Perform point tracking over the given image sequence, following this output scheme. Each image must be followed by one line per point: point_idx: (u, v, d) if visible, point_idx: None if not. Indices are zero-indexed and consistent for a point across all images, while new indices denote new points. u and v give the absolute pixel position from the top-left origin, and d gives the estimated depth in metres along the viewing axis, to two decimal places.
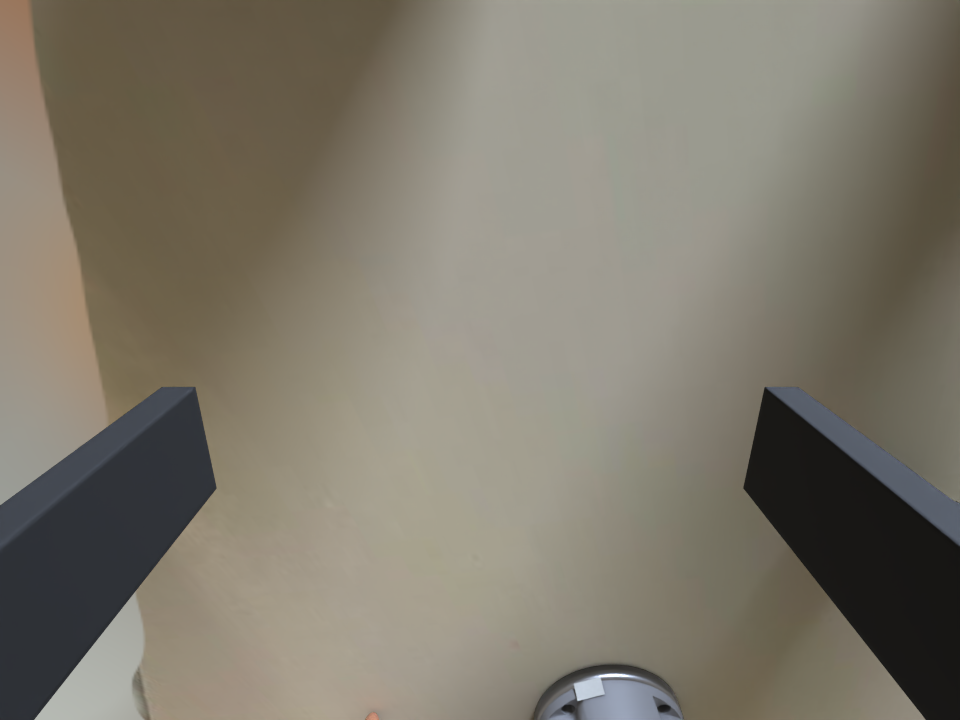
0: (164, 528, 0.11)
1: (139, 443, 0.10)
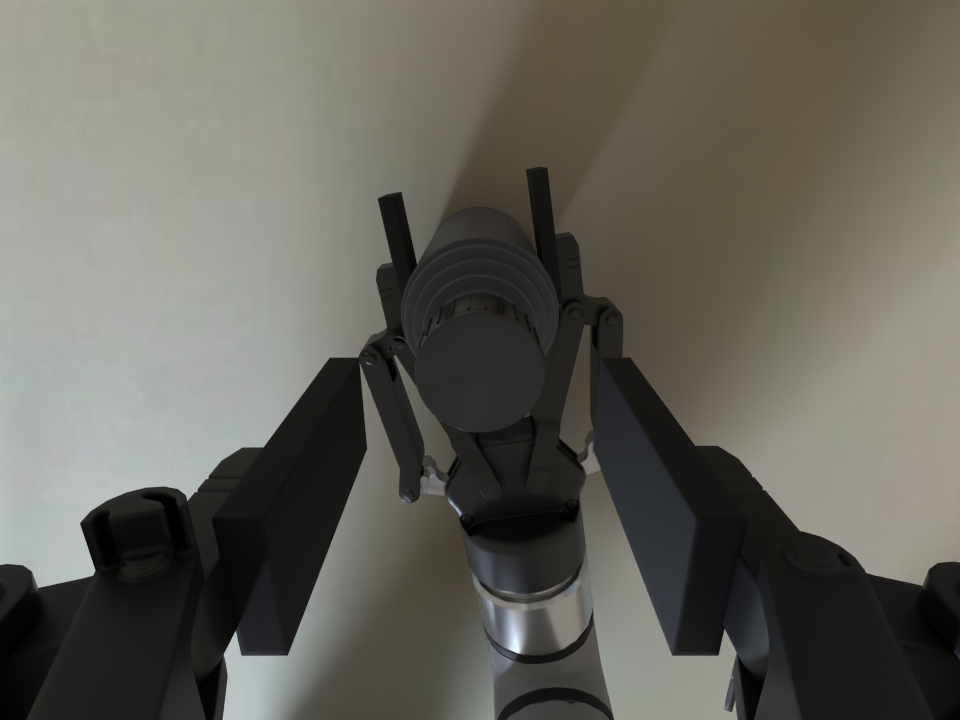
0: (347, 476, 0.13)
1: (338, 401, 0.12)
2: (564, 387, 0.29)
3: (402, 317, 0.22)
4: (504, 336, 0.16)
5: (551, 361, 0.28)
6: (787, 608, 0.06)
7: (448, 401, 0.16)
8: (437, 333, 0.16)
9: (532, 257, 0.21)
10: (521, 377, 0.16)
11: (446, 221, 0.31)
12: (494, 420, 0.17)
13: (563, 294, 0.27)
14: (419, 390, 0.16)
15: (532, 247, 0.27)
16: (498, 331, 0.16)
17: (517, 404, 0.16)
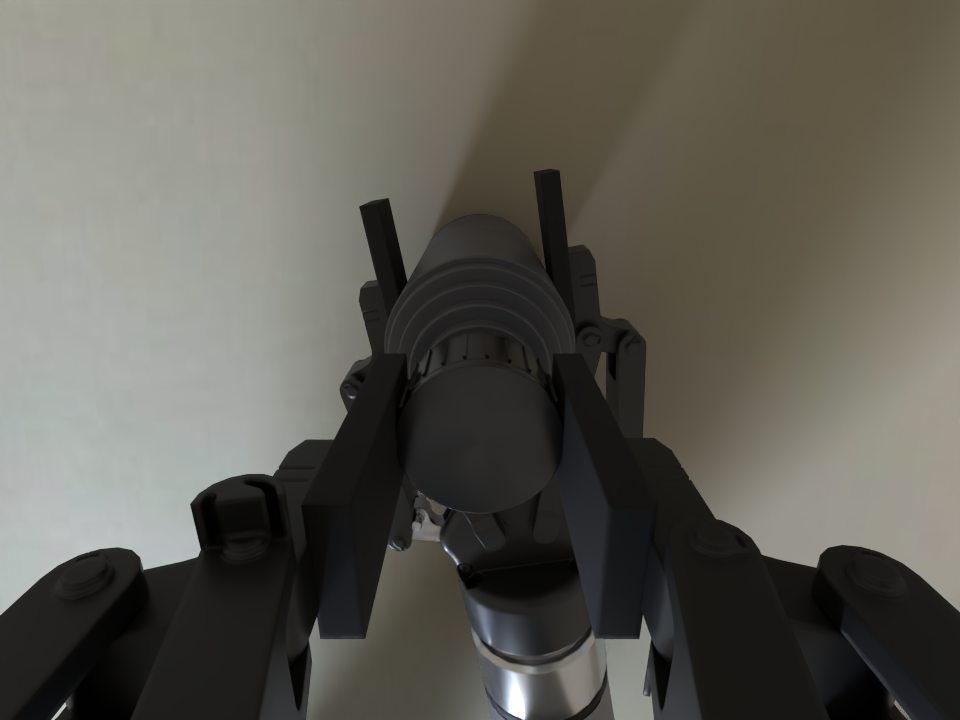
0: (400, 469, 0.13)
1: (394, 395, 0.12)
2: None
3: (386, 351, 0.18)
4: (511, 394, 0.12)
5: None
6: (688, 593, 0.07)
7: (438, 475, 0.13)
8: (423, 391, 0.12)
9: (543, 280, 0.17)
10: (533, 446, 0.12)
11: (441, 230, 0.27)
12: (498, 499, 0.13)
13: (577, 317, 0.23)
14: (400, 462, 0.13)
15: None
16: (504, 388, 0.12)
17: (528, 479, 0.13)
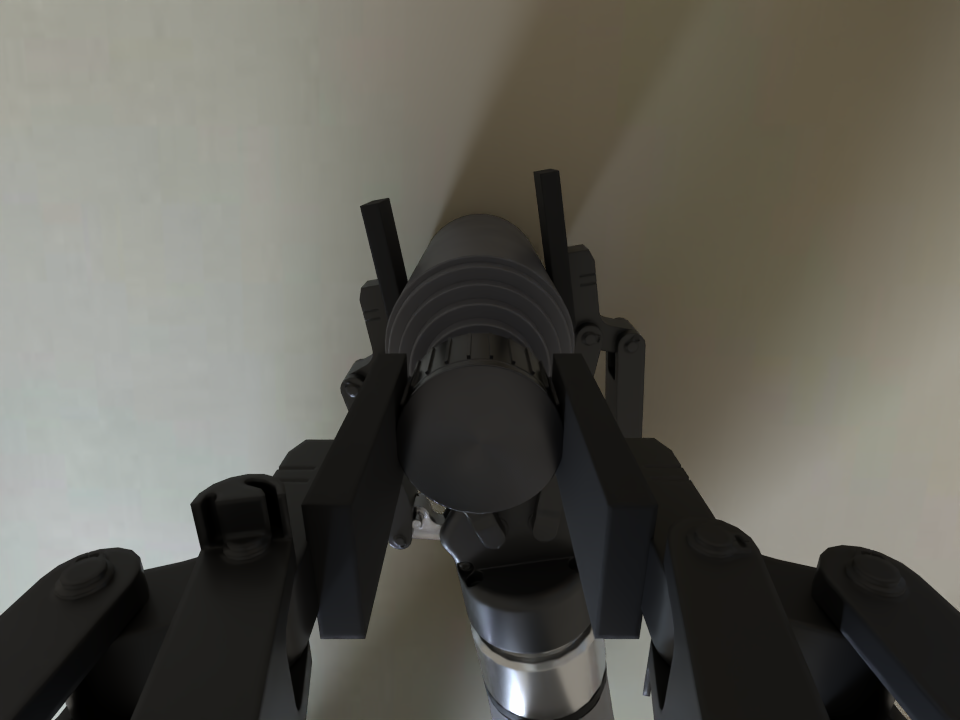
0: (400, 469, 0.13)
1: (394, 395, 0.12)
2: None
3: (386, 350, 0.18)
4: (417, 440, 0.12)
5: None
6: (688, 593, 0.07)
7: (532, 460, 0.12)
8: (454, 505, 0.13)
9: (543, 279, 0.17)
10: (456, 398, 0.12)
11: (442, 230, 0.28)
12: (531, 400, 0.12)
13: (576, 316, 0.24)
14: (533, 494, 0.13)
15: (540, 262, 0.23)
16: (415, 449, 0.12)
17: (494, 385, 0.12)
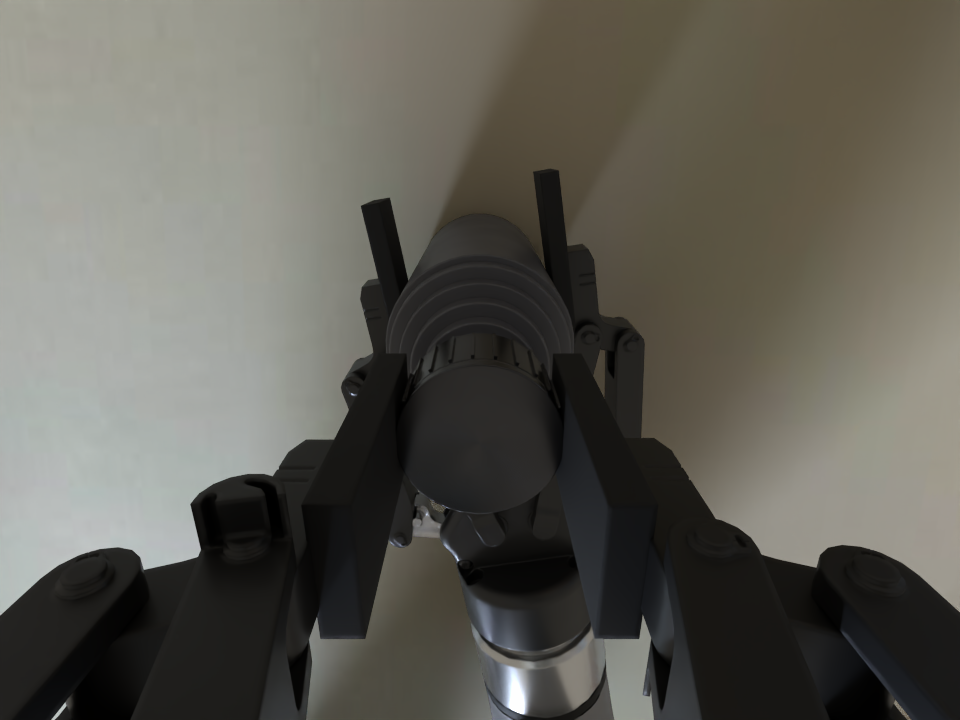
0: (400, 469, 0.13)
1: (394, 395, 0.12)
2: None
3: (387, 349, 0.18)
4: (504, 491, 0.13)
5: None
6: (688, 593, 0.07)
7: (473, 392, 0.12)
8: (558, 434, 0.12)
9: (543, 278, 0.17)
10: (446, 479, 0.13)
11: (442, 230, 0.28)
12: (413, 424, 0.12)
13: (576, 315, 0.24)
14: (509, 371, 0.12)
15: (540, 261, 0.23)
16: (514, 489, 0.13)
17: (417, 458, 0.12)
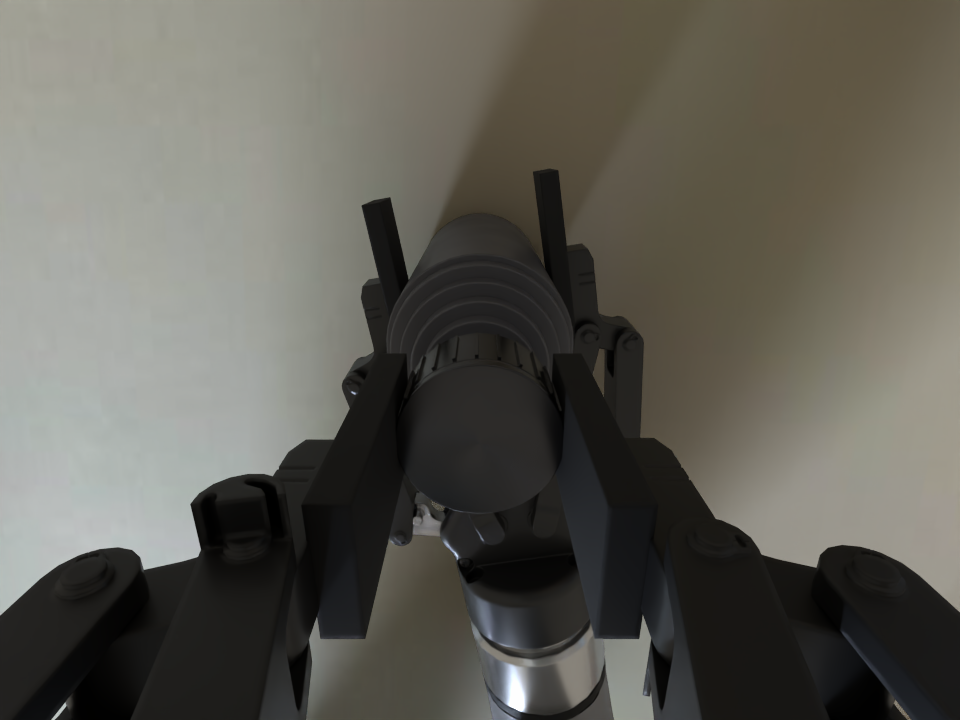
0: (400, 469, 0.13)
1: (394, 395, 0.12)
2: None
3: (388, 347, 0.18)
4: (519, 399, 0.12)
5: None
6: (688, 593, 0.07)
7: (434, 470, 0.13)
8: (432, 384, 0.12)
9: (542, 277, 0.18)
10: (533, 452, 0.12)
11: (442, 229, 0.28)
12: (489, 500, 0.13)
13: (575, 314, 0.24)
14: (398, 452, 0.12)
15: (540, 261, 0.23)
16: (512, 392, 0.12)
17: (522, 485, 0.13)
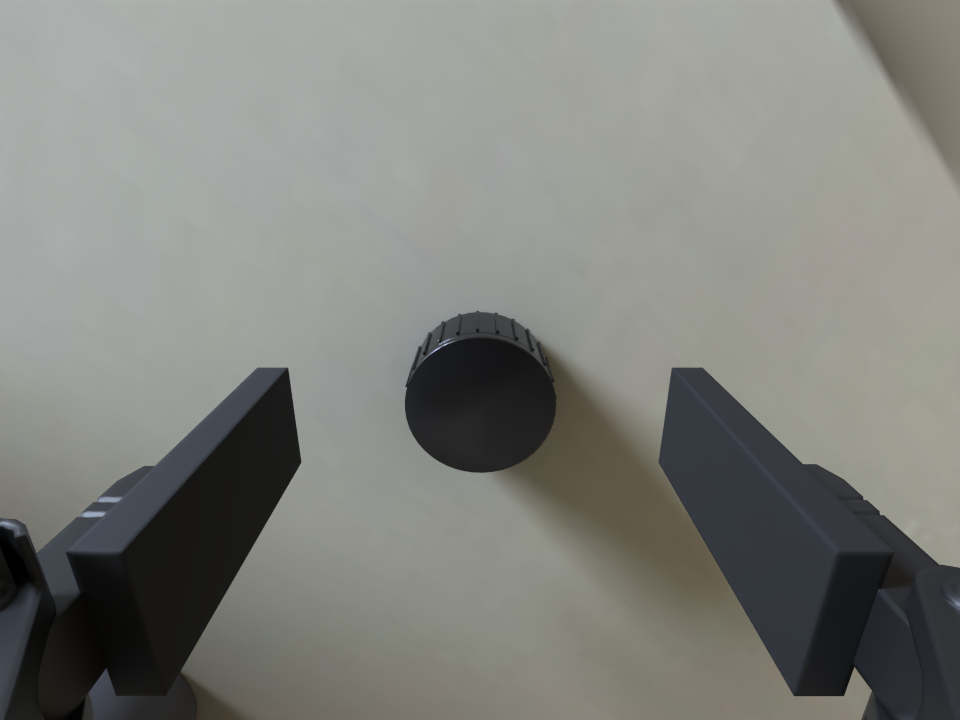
0: (269, 494, 0.12)
1: (253, 415, 0.11)
2: None
3: None
4: (515, 368, 0.13)
5: None
6: (948, 648, 0.06)
7: (439, 433, 0.14)
8: (438, 354, 0.13)
9: None
10: (527, 416, 0.14)
11: None
12: (489, 460, 0.14)
13: None
14: (407, 416, 0.14)
15: None
16: (509, 361, 0.13)
17: (518, 446, 0.14)
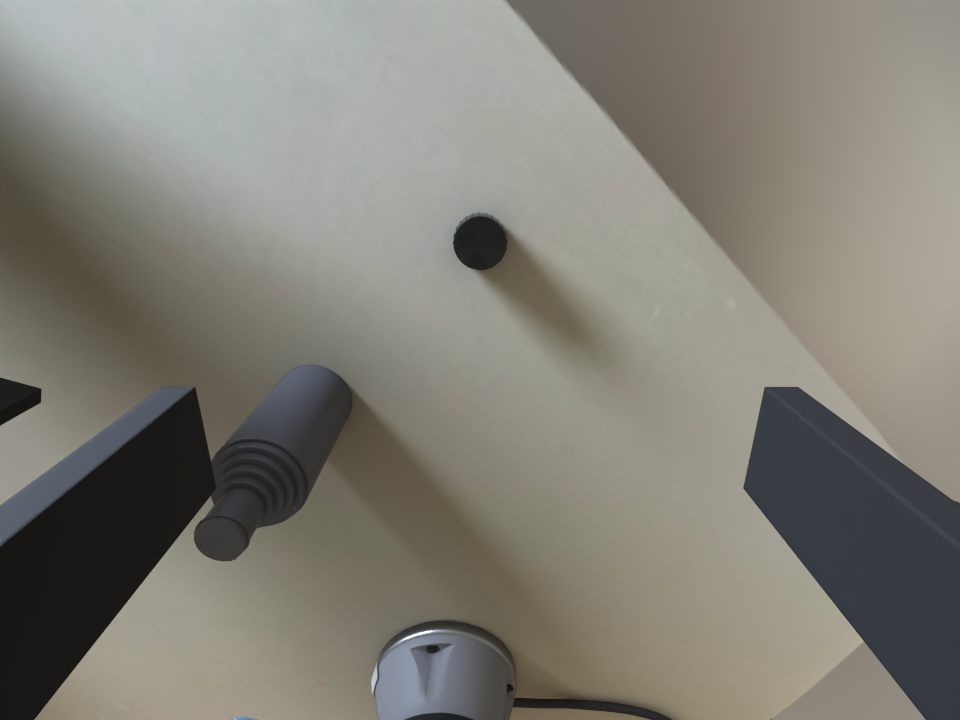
0: (164, 528, 0.11)
1: (139, 443, 0.10)
2: None
3: (275, 443, 0.34)
4: (492, 227, 0.39)
5: None
6: None
7: (465, 253, 0.40)
8: (465, 222, 0.39)
9: None
10: (496, 246, 0.40)
11: (346, 401, 0.45)
12: (483, 264, 0.40)
13: None
14: (454, 246, 0.40)
15: None
16: (490, 225, 0.39)
17: (493, 258, 0.40)
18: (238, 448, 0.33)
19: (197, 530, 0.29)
